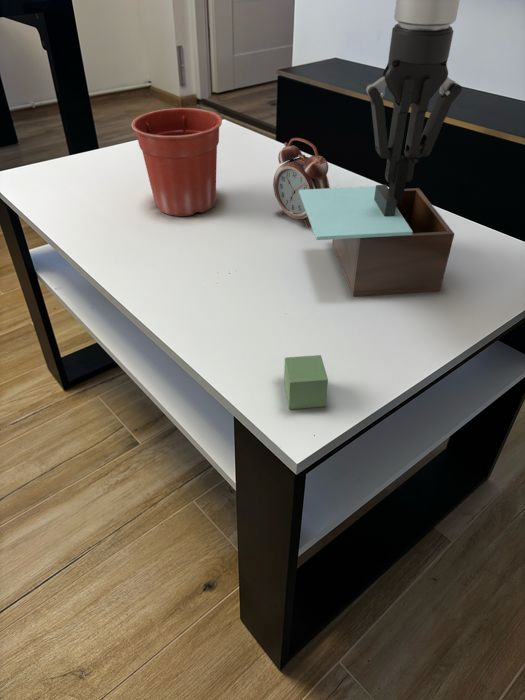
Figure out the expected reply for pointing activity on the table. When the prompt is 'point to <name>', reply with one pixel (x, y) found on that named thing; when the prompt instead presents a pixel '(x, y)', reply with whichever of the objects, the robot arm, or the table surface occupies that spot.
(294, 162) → the alarm clock
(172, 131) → the flower pot
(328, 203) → the light blue board
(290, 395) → the block
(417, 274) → the case
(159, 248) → the table surface
